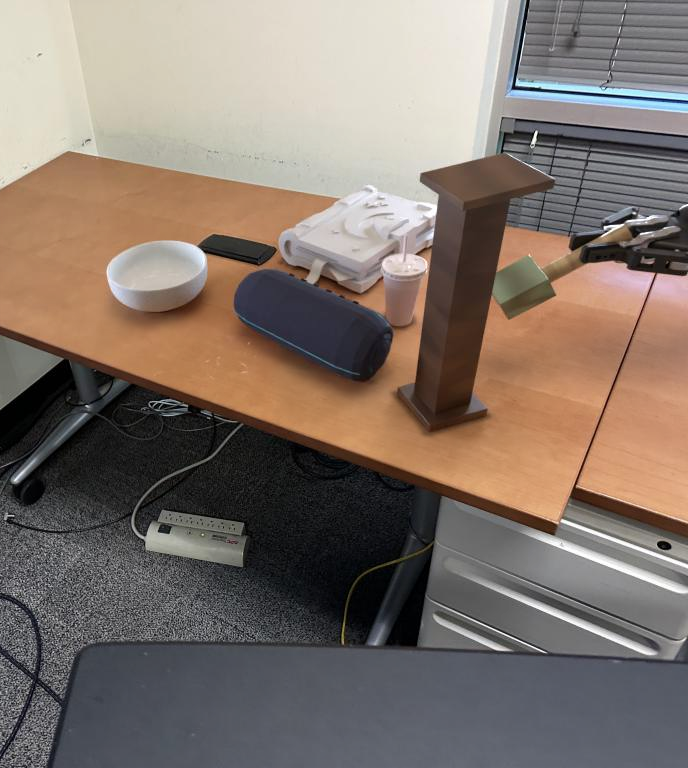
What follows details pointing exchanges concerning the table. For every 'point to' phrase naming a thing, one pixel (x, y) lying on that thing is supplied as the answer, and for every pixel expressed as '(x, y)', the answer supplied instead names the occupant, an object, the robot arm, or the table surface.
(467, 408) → the stand
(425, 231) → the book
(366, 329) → the portable speaker
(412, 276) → the smoothie
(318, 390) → the table surface
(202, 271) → the cereal bowl
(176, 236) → the table surface
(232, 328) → the table surface
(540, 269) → the green wooden mallet
